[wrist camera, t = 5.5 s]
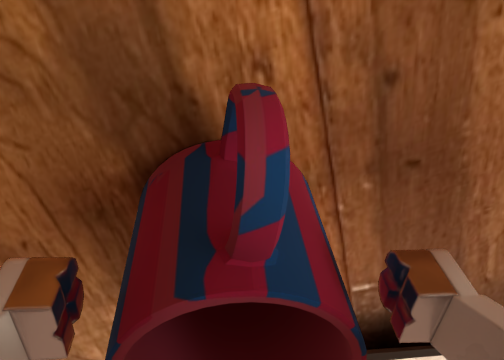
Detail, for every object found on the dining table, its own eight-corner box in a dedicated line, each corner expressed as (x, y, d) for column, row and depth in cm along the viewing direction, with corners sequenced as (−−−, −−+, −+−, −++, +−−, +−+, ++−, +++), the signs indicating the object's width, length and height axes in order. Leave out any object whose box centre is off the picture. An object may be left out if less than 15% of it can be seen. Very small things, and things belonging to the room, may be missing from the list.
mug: (133, 265, 17) (98, 441, 12) (158, 21, 12) (117, 130, 6) (284, 279, 19) (319, 443, 13) (369, 66, 13) (489, 189, 8)
